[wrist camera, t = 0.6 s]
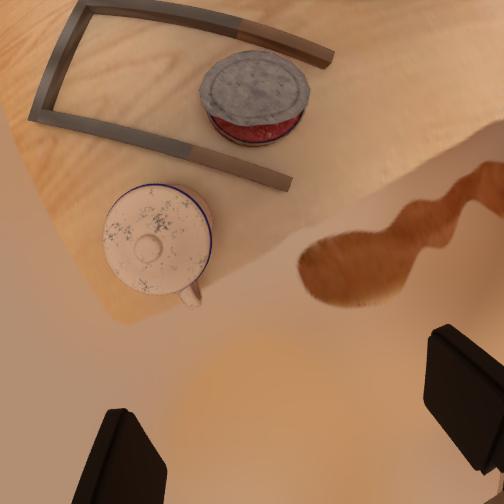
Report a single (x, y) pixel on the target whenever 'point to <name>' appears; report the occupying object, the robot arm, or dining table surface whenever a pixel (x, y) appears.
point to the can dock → (146, 7)
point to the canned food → (254, 97)
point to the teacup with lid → (160, 240)
